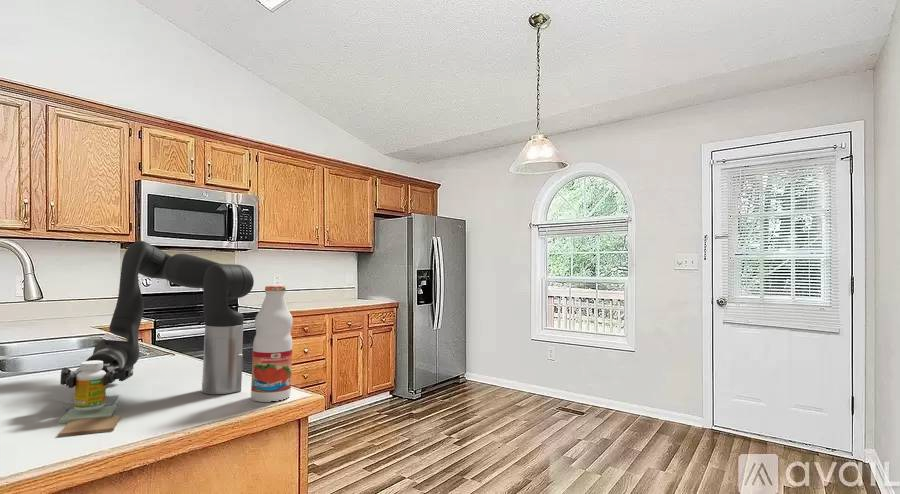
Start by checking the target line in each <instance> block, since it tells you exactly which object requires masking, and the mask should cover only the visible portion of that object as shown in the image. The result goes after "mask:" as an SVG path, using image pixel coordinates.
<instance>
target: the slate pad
mask: <svg viewBox="0 0 900 494" xmlns="http://www.w3.org/2000/svg"><path fill="white" fill-rule="evenodd" d="M119 396H120V395H119V394H118V395H117V394H116V395H108V396H107V395H105V405H104V406H112V405H116V404H115V403H116V402H117V401H118V399H119ZM70 409H74V400H72V402H70V404H69V405H68V406H67V407H66V408H65V412H68V411H69V410H70Z"/></svg>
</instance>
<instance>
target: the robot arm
mask: <svg viewBox="0 0 900 494" xmlns="http://www.w3.org/2000/svg"><path fill="white" fill-rule="evenodd" d="M120 269H121V270H120V275H119V276H120V277H119V288H118V295H117V302H116V305H115V307H114V308H115V309H114V311H113V314H112V317H111V321H110V324H109V332H110V333H111V335H115V336H118V337H121V338H123V339H126V341H124V340H114V339H112V340H111V339H104V340H100V341H99V342H98V343H97V344H96V345H95V347H94V349H93V352H92V354H91V356H90V357H88V358H87V359H86V360H85V361H94V360H99V361H103V368H102V370H103V371H105V372H106V374H105V375H104V386H105V385H106V386H109V384H112V383H114V382H116V380H118V381H119V382H124V381H126V380H128V379H129V378H131V377H133V375H134V365H135V364H136V363H137V362H138V360H139V359H140V346H139V331H140V326H141V323H142V318H143V316H144V310H145V309H144V308H145V303H144V298H143V295H142V291H141V288H140V282H139V275H141V276H143V277H146V278H151V279H158V280H160V279H161V280H166V281H167V282H169V283H171V284H175V285H177V286H179V287H180V286H181V287H184V288H190V289H202V291H203V293H202V294H203V295H202V296H203V306H202V309H203V316H204V321H205V322H204V342H203V361H202V379H201V381H202V382H201V392H202V393H203V394H205V395H226V394H231V393H235V392H241V391H242V383H243V382H242V380H243V379H242V378H243V377H242V376H243V360H244V359H243V356H244V355H243V340H244V339H243V338H244V337H243V335H244V321H245V320H244V319H245V317H244V314H243V313H242V312H239V311H236V310H233V309H232V308H231V307H229V304H228V299H229V300H232V299H233V300H234V299H240V298H244V297H245V296H247V295H249V293H251V291H252V289H253V287H254V281H255V279H254V276H253V273H252V272H251V271H250V270H249V269H248V268H247V267H246V266H244V265H241V264H226V263H225V264H223V263H218V262H215V261H213V260H210V259H207V258H203V257H200V256H196V255H192V254H187V253H176V254H174V255H170V254H168V253H166V252H164V251H163V250H161V249H159V248H158V247H156V246H154V245H153V244H151V243H149V242H146V241H144V240H137V241H135V242H133V243H132V244H131V245H129V247H127V249H126V250H125V253H124V255H123V258H122V263H121V267H120ZM60 371H61V372H60V385H62V386H66V387H68V389H73V388H75V381H76V375H77V374H78V373H80V372H81V371H82V370H80V367H78V368H76V370H72V369H71V368H67V367H63V368H61V370H60Z"/></svg>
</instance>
